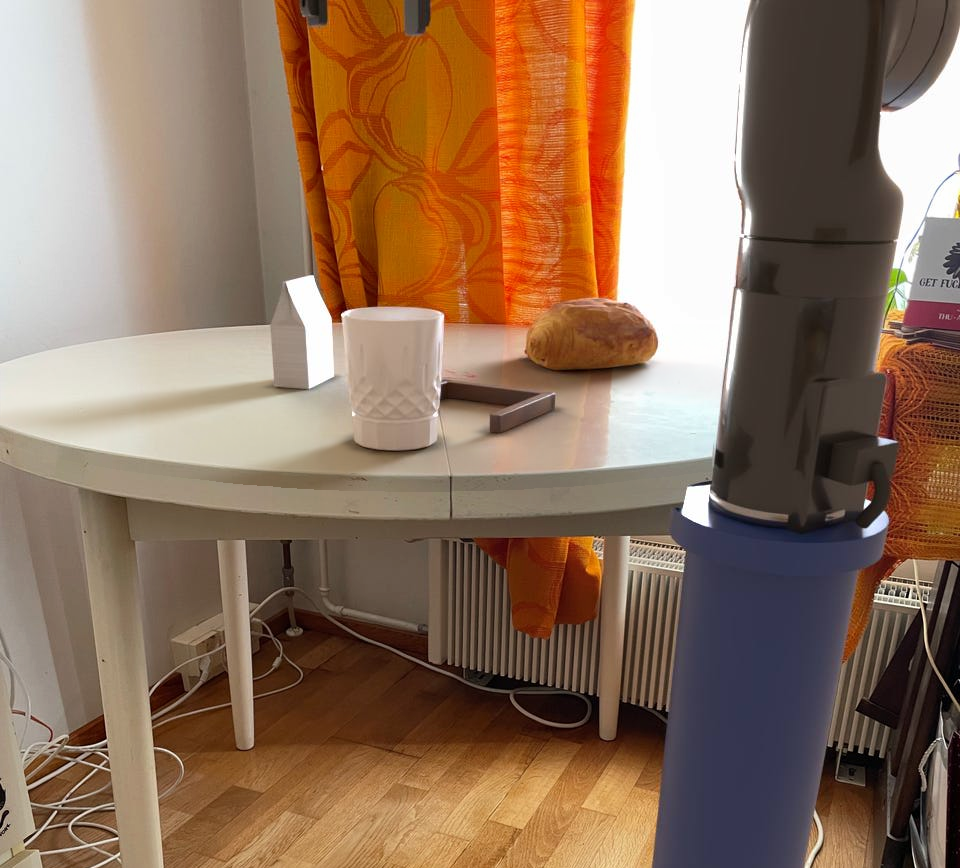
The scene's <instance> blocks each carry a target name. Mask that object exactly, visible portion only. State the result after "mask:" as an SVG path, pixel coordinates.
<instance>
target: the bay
mask: <svg viewBox="0 0 960 868" xmlns="http://www.w3.org/2000/svg"><path fill="white" fill-rule="evenodd" d="M447 398H448V399H449V398H450V399H458V400H464V401H471V402H472V401H473V402H481V403H488V404H495V405H502V406H507V407H504V408H502V409H500V410H497V411H495V412H492V413H490V414H489V433H496V434H501V433H504V432H506V431H508V430H510V429H513V428H515V427H517V426H519V425H521V424H524V423H526V422H529V421H530V420H533V419H535V418H537V417H539V416H542V415H544V414H547V413H549V412H551V411H554V410H555V408H556V392H551V391H542V390H534V389H527V388H519V387H511V386H503V385H495V384H486V383H478V382H469V381H462V380H456V379H455V380H454V379H448V378H447V379H445V378H443V379H441V392H440V400H442V399H443V400H444V399H447Z"/></svg>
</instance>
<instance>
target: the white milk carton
mask: <svg viewBox="0 0 960 868" xmlns="http://www.w3.org/2000/svg"><path fill="white" fill-rule="evenodd" d="M317 286H318V285H317V283H316V281H315V277H314V275H306V276H301V277H298V278H293V279H289V280H285V281H282V286H281V291H280V295H279V299H278V302H277V306H276V308H275V311H274V314H273V317H272V320H271V322H270V325H269V326H270V340H271V356H272V370H273V384H274V387H275V388H286V389H287V388H289V389H300V390H301V389H303V390H304V389H305V390H310V389H312V388H314V387H317V386H318V385H321V384H322V383H324V382H327V381H328V380H330V379H332V378H334V377H335V369H334V348H333V347H334V346H333V327H332V325H333V324H332V323H333V322H332V316H331V314H330V312H329V310H328V308H327V306H326V304H325V302H324V300H323V297H322V296H321V293H320V291H319V289H318V287H317Z"/></svg>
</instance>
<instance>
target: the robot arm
mask: <svg viewBox="0 0 960 868" xmlns="http://www.w3.org/2000/svg"><path fill="white" fill-rule="evenodd" d="M431 1H432V0H403V25H404V26H403V30H404V34H405V36H409V37H418V36H424V35H425V33H426V29H427V28H428V27H429V26H430V23H431V19H432V17H431V16H432V13H431V10H432V8H431V7H432V2H431ZM299 10H300V13H301V15H302V17H304V18H306V24H307V25H308V27H311V28H312V27H313V28H321V27H325V26H327V24H328V21H329V20H328V19H329V16H328V15H329V13H328V0H299ZM959 33H960V0H750V1H749V4H748V9H747V14H746V18H745V24H744V29H743V36H742V43H741V55H740V56H741V57H740V66H739V67H740V68H739V82H738V85H739V86H738V99H737V100H738V101H737V115H736V116H737V117H736V128H735V142H734V143H735V144H734V162H733V163H734V168H733V169H734V181H735V186H736V191H737V194H738V197H739V202H740V205H741V222H740V223H741V224H740V231H739V234H740V236H739V241H738V247H737V249H738V250H737V256H736V257H737V258H736V266H735V275H734V284H733V285H734V286H733V290H732V298H731V299H732V300H731V307H730V317H729V326H728V335H727V343H726V352H725V361H724V369H723V376H722V377H723V378H722V385H721V394H720V405H719V413H718V421H717V431H716V438H715V444H712V452H711V453H712V454H711V456H712V457H711V458H712V476H711V478H712V479H711V481H712V484H711V485H710V488H709V497H708V504H709V506H710V507H711V508H712V509H713V510H714V511H716V512H717V513H719V514H721V515H723V516H725V517H728V518H731V519H733V520H736V521H740V522H744V523H747V524H752V525H757V526H763V527H770V528H778V529H786V530H789V531H793V532H795V533H799V534H805V533H809V532H813V531H817V530H821V529H825V528H829V527H832V526H836V525H840V524H844V523H848V522H852V521H855V523H856V524H857V525H858V526H859V527H861V528H865V529H866V528H868V527H869V526H870V525H871V524H872V523H873V522H874V521H875V520H876V519H877V518H878V517H879V516H880V515H881V514H882V512H883V511H886V508H887V506H888V504H889V502H890V499H891V493H892V486H891V480H890V478H893V477H894V472H895V468H896V462H897V458H898V453H899V452H898V451H899V448H900V447H899V446H900V441H896V440H894V439H893V440H892V439H889V438H885V437H880V436H878V433H879V429H880V422H881V417H882V412H883V407H884V400H885V396H886V395H885V394H886V390H887V384H888V378H887V377H888V376H887V374H886V373H885V372H883V371H878V370H876V366H877V359H878V358H877V357H878V352H879V348H880V341H881V334H882V329H883V324H884V323H883V322H884V319H885V318H884V317H885V312H886V307H887V302H888V294H889V290H890V284H891V278H892V273H893V267H894V263H895V255H896V251H897V244H898V241H897V240H898V239H899V235H900V229H901V224H902V218H903V213H904V203H905V201H904V195H903V192H902V189H901V188H900V187H899V186H898V185H897V183H895V181H894V180H893V179H892V178H891V177H890V175H889V174H888V173H887V171H886V169H885V167H884V164H883V161H882V158H881V152H880V149H879V148H880V147H879V141H880V139H879V138H880V127H881V116H882V115H884V114H891V113H894V112H897V111H900V110H902V109H903V110H904V109H905V108H907V107H908V106H911V105H912V104H913V103H915V102H917V100H919V99H921V97H923V96H924V95H925V94H926V93H927V92H928V91H929V90H930V88H932V86H933V85H934V84H935V83H936V82H937V79H938V78H939V77H940V75H941V74H942V73H943V71H944V69H945V68H946V65H947V64H948V62H949V60H950V57H951V56H952V53H953V51H954V48H955V45H956V42H957V40H958V36H959ZM872 482H873V487H874V493H873V497H872V499H871V503H870V504H869V505H868V506H867V507H866V508H865V509H864V505H865V500H866V499H867V494H868V488H869V483H872Z"/></svg>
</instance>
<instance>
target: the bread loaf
mask: <svg viewBox="0 0 960 868" xmlns="http://www.w3.org/2000/svg"><path fill="white" fill-rule="evenodd" d="M658 337H659V336H658V334H657V331H656V328H655V327H654V325H653V324H652V323H651V321H650V320H649V319H648V318H647V317H646V316H645V315H643V314H642V312H641V311H640V310H639V309H638V308H637V307H636V305H633V304H630V303H627V302H623V301H618V300H613V299H610V298H604V297H586V298H579V299H569V300H566V301H562V302H559V303H555V304H551V306H550V307H549V308H548V309H546V310H545V311H543V312H542V313H541V314H540V315H538V316H536V317H535V319H534V320H533V322H532V323H531V325H530V327H529V329H528V331H527V333H526V338H525V339H526V340H525V349H524V351H523V352H524V354H525V355H526V356H527V359H528V360H530V361H532V362H533V363H536V364H537V365H540V366H541V367H543V368H544V367H545V368H546V369H550V370H553V371H567V370H568V371H570V370H593V369H608V368H609V369H610V368H617V367H625V366H632V365H636V364H644V363H646V362H649V361H650V360H651V359H652V358H654V356H655V354H656V353H657V351H658V347H659V339H658Z"/></svg>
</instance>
